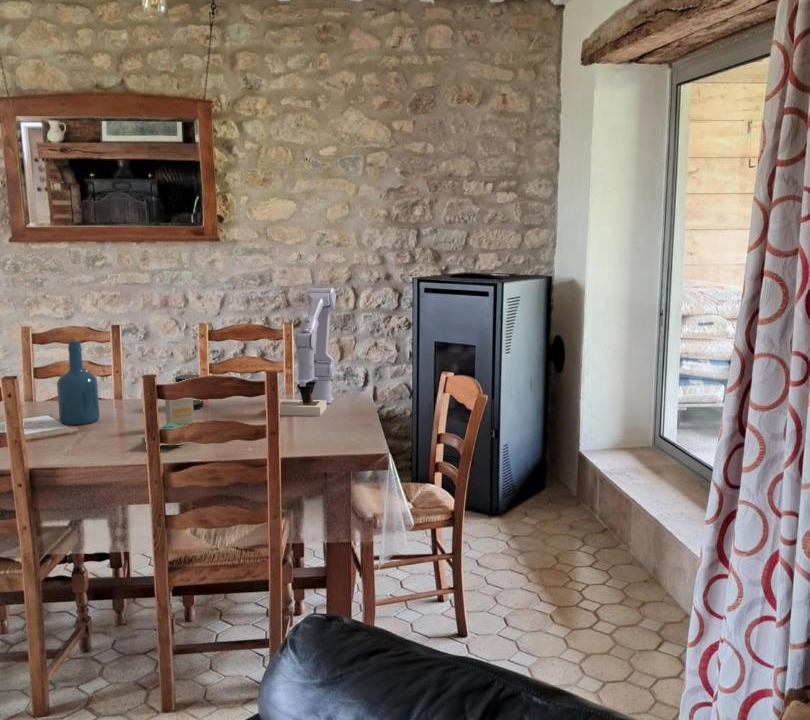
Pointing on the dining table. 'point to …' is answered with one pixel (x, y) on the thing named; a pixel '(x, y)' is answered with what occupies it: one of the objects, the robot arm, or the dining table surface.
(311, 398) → the keyhole slider
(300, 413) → the cream rectangular tray
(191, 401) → the supplement box
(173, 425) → the puzzle game
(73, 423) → the wine bottle
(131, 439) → the dining table surface
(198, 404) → the supplement container
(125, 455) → the dining table surface
